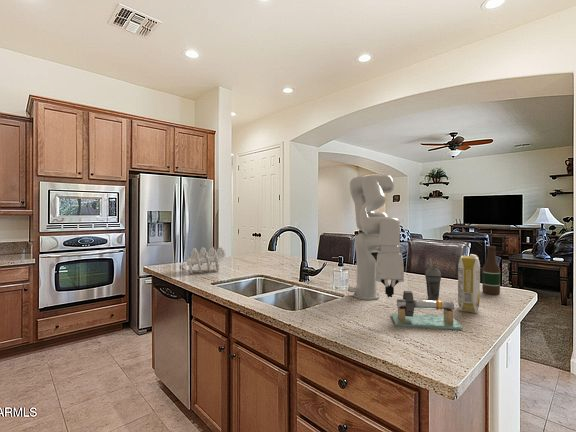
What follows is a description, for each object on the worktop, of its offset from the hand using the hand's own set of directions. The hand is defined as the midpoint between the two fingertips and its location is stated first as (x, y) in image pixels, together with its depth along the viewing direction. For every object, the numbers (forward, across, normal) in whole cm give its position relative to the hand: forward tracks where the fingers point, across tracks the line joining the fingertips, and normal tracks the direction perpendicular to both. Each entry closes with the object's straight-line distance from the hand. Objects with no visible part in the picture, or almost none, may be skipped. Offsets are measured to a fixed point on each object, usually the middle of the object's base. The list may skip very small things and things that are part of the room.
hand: (389, 296), depth 125 cm
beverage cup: (+10, +24, +33) cm, 42 cm away
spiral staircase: (+10, -114, +78) cm, 138 cm away
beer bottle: (+10, +56, +50) cm, 76 cm away
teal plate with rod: (+10, +13, 0) cm, 16 cm away
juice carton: (+10, +35, +19) cm, 41 cm away
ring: (+7, +7, 0) cm, 10 cm away
